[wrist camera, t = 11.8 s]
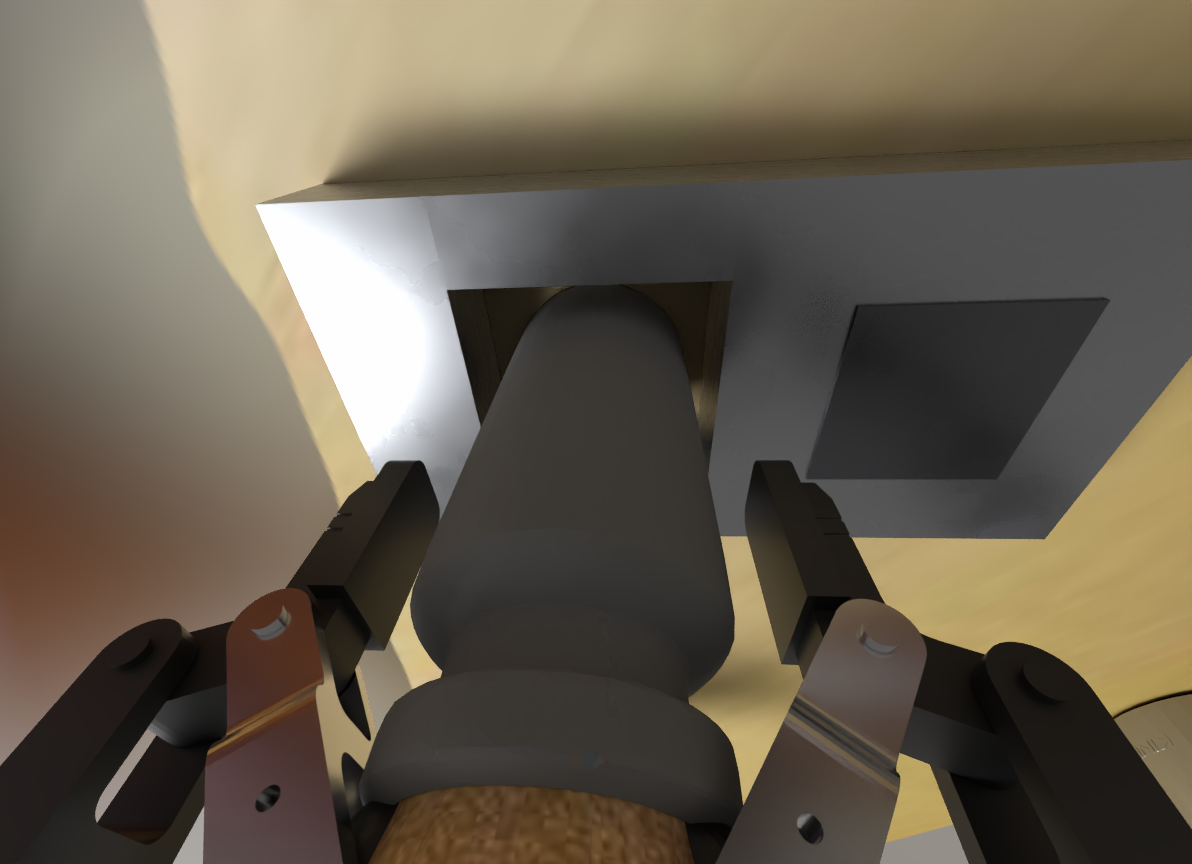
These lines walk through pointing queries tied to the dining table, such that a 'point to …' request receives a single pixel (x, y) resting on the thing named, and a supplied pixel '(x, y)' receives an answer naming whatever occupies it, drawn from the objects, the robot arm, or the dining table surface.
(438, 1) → the dining table surface
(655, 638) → the bottle
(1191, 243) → the panel
